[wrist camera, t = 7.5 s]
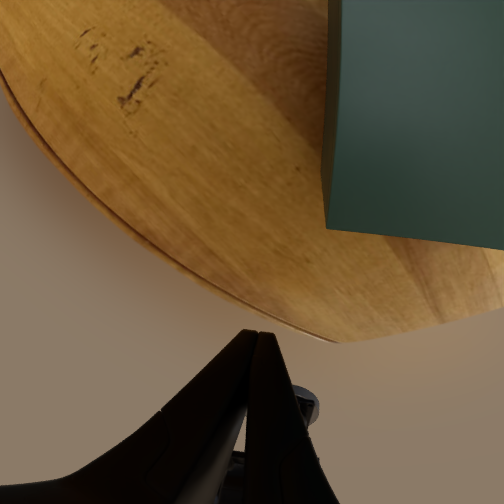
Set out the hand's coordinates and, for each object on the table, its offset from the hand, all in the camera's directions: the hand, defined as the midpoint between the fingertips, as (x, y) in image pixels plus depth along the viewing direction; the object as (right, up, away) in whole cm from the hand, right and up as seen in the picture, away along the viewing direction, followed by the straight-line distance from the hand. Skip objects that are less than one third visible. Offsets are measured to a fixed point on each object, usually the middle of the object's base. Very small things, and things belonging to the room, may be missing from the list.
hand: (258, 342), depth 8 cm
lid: (+8, +9, 0) cm, 12 cm away
